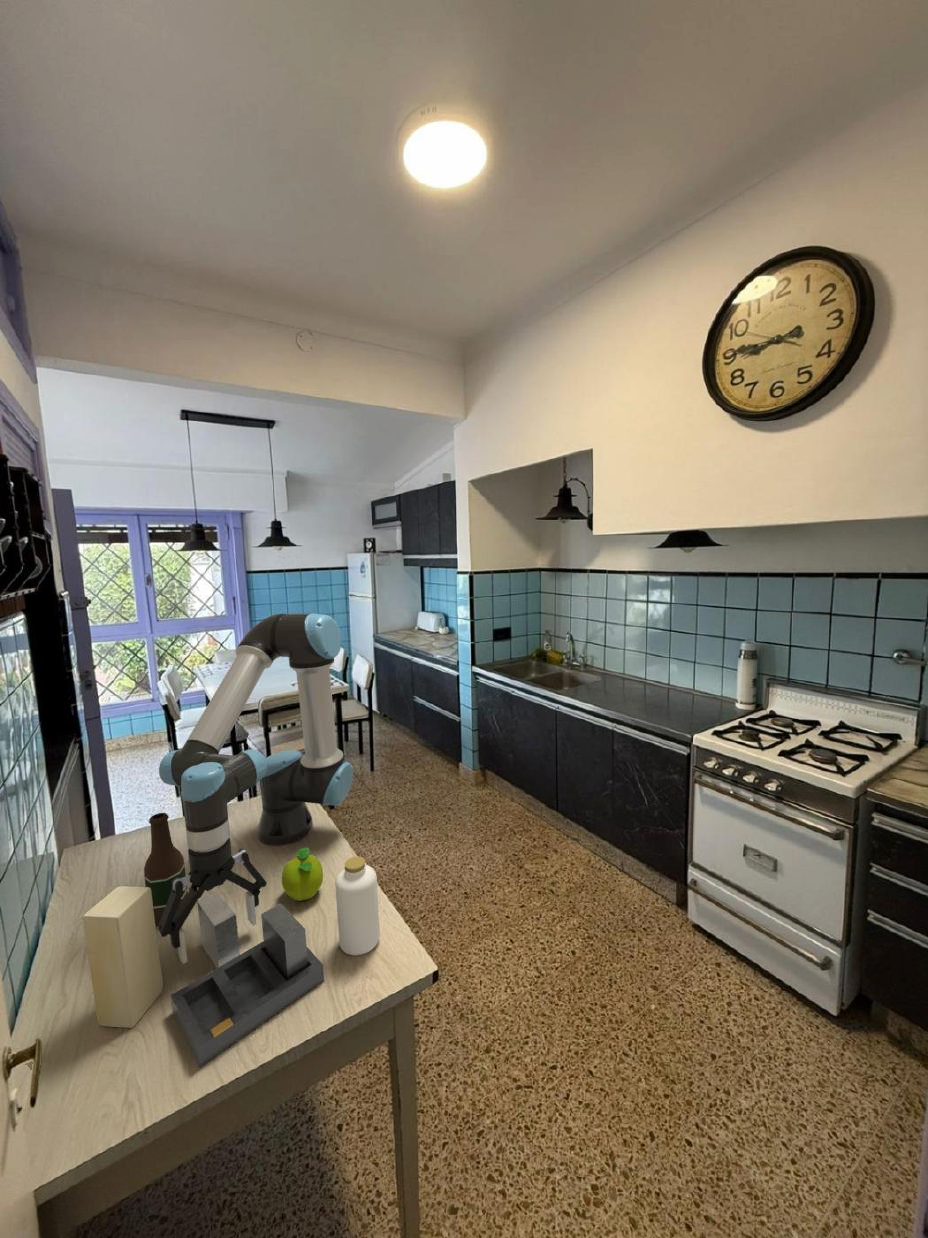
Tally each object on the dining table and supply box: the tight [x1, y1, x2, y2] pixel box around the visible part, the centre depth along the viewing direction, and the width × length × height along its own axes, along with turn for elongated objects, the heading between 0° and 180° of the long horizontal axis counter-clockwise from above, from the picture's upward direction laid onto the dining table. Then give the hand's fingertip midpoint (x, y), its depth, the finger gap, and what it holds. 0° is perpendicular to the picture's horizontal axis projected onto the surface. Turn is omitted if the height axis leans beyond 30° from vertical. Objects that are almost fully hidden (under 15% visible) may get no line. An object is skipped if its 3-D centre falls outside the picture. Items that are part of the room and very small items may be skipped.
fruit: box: [281, 847, 324, 902], centre depth 117 cm, size 9×9×10 cm
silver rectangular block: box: [196, 891, 241, 968], centre depth 101 cm, size 4×10×10 cm, turn 45°
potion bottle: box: [334, 856, 381, 956], centre depth 102 cm, size 8×8×18 cm
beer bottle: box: [143, 812, 189, 927], centre depth 111 cm, size 8×8×24 cm
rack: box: [170, 903, 325, 1069], centre depth 91 cm, size 22×14×11 cm, turn 135°
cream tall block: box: [82, 885, 164, 1029], centre depth 88 cm, size 8×7×21 cm
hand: (219, 939), depth 101 cm, fingers open, 13 cm apart
